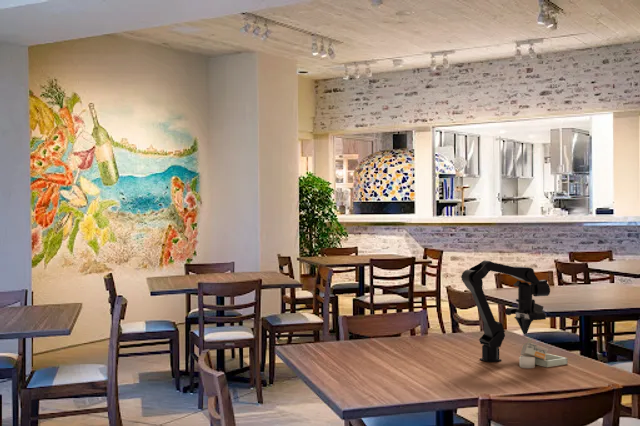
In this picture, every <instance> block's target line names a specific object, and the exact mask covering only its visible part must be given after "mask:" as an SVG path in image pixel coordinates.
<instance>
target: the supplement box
mask: <svg viewBox="0 0 640 426" xmlns="http://www.w3.org/2000/svg"><path fill="white" fill-rule="evenodd" d="M548 350H549V348H547V347H544V346H541V345H539V344H536V343H532V342H529V341H528V342H525V343H523V344H522V348H521V351H520V356H522V355H529V356H534V357H535V358H538V359H542V360H546V354H548Z"/></svg>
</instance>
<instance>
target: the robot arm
mask: <svg viewBox="0 0 640 426" xmlns="http://www.w3.org/2000/svg"><path fill="white" fill-rule="evenodd" d="M490 272H494V273H498V274H502V275H503V274H505V275H509V276H511V277H512V278H515V279H517V280H516V282H515V283H513V286H514V287H517V289H518V290H517V292H518V293H517V298H516V299H515V302H517V307H507V308H505V310H504V315H506V316H511V315H515V316H514V319H515V321H516V322H517V323H518V326H519V327H520V329H521V332H522V335H527V334H528V331H529V328H530V327H531V324H532V323H533V321H541V320H542V321H543V320H546V319H547V314H546V312H543V310H544V306H543V305H541V304H538V303H536V300H535V299H534V298H533V297H536V298H537V297H549V296H550V293H551V288H550V285H549V283H548V280H547V279H540V280H539V278H538V277H537V276H536V273H535V271H534V268H532V267H527V266H513V265H512V266H511V265H508V264H501V263H499V262H493V261H492V260H491V261H490V260H483V261H481V262H479V263H478V264H476V265H474V266H472V267H470V268H469V269H465V270H464V271H463V272H462V274H461V281H462V282H463V284H464V285H465V288H466V289H468V290H469V292H470V293H471V295H472V298H473V300H474V302H475V304H476V307H477V310H478V312H479V315H480V318H481V319H482V321H483V332H484V333H483V334H482V335H481V336H480V338H479V339H478V341H479V343H480V345H481V348H482V349H481V350H482V352H481V357H480V358H479V360H480V361H484V362H487V363H494V362H495V363H496V362H501V361H502V359H500V348H501V346H502V344H503V341H504V339H505V338H506V333H505V332H506V330H505V329H504V326H503V323H502V322H500V321H497V320H496V319H495V317H494V315H493V314H494V313H493V312H492V309H491V307H490V304H489V303H488V302H489V301H488V300H487V297H486V295H485V292H484V290H483V287H484V286H483V284H484V282H483V279H484V278H485V277H486V276H487V275H488V274H489V273H490Z"/></svg>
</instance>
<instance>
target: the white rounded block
mask: <svg viewBox="0 0 640 426" xmlns="http://www.w3.org/2000/svg"><path fill="white" fill-rule="evenodd" d="M518 361H519V366H518V367H519V368H522V369H534V368H536V364H535V357H534V356H529V355H519V359H518Z"/></svg>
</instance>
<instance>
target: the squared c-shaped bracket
mask: <svg viewBox="0 0 640 426" xmlns="http://www.w3.org/2000/svg"><path fill="white" fill-rule="evenodd" d="M536 365H537V366H540V367H544V368H550V367H556V366H557V367H558V366H564V365H565V366H566V365H568V357H564V356H561V355H560V356H559V355H555V354H551V353H547V354H546V358H545V360H542V359H538V358H535V366H536Z"/></svg>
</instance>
